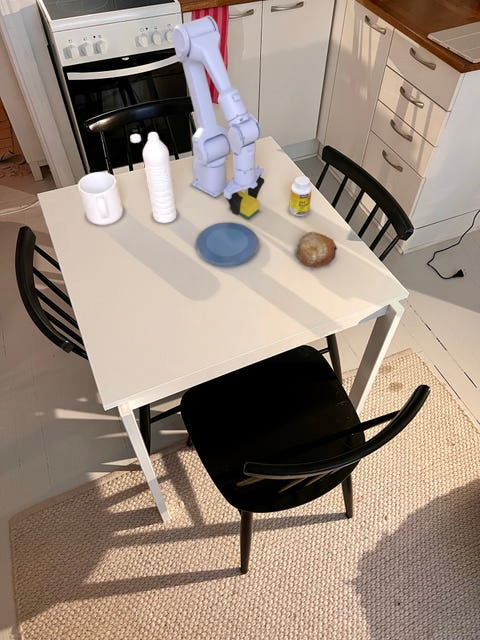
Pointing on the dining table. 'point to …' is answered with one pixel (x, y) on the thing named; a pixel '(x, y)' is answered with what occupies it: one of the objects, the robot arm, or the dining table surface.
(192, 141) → the robot arm
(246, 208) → the sponge
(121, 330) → the dining table surface
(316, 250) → the bread roll
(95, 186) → the mug
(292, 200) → the supplement bottle
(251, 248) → the plate
